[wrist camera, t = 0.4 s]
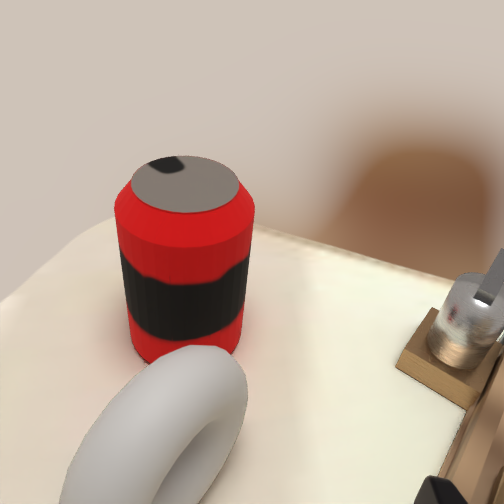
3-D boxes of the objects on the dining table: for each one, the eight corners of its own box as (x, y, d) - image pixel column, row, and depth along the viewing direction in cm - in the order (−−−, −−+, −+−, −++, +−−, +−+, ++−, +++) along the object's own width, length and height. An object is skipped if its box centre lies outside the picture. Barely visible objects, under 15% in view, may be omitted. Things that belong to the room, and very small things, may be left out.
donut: (206, 408, 27) (211, 289, 20) (253, 442, 25) (274, 327, 19) (63, 566, 20) (5, 464, 14) (116, 624, 19) (79, 540, 12)
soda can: (202, 278, 35) (205, 137, 28) (262, 341, 31) (286, 195, 23) (111, 318, 31) (86, 168, 24) (167, 397, 27) (158, 244, 19)
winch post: (467, 411, 28) (527, 331, 23) (395, 366, 30) (435, 284, 25) (495, 349, 32) (551, 270, 27) (429, 314, 34) (470, 234, 29)
